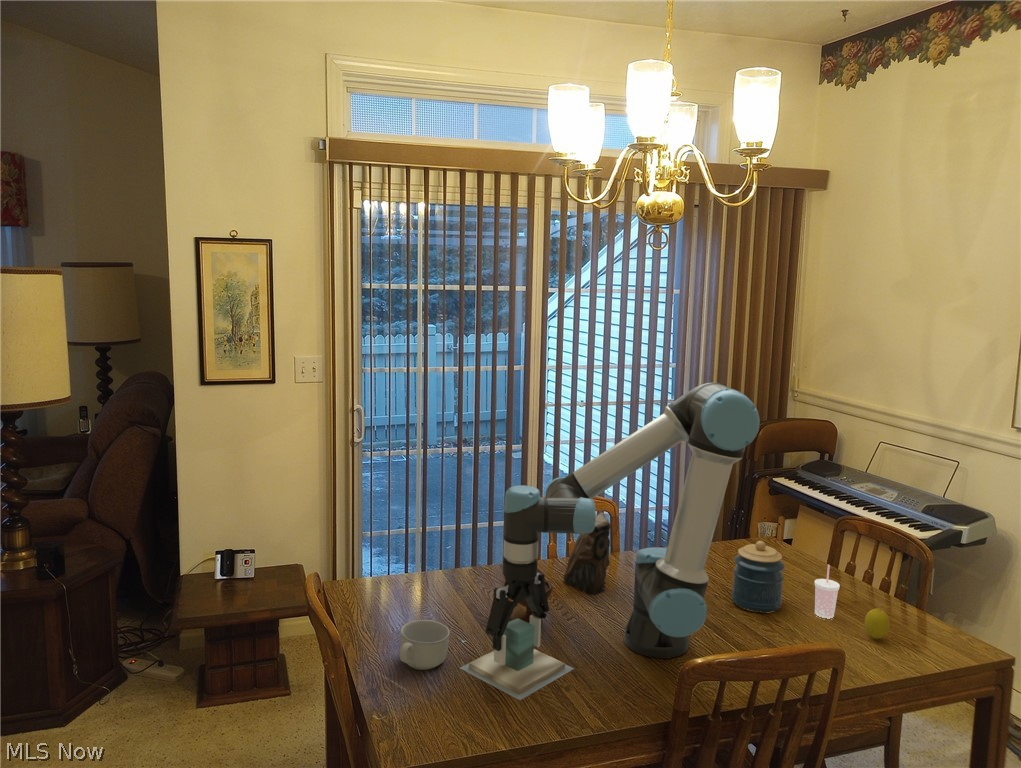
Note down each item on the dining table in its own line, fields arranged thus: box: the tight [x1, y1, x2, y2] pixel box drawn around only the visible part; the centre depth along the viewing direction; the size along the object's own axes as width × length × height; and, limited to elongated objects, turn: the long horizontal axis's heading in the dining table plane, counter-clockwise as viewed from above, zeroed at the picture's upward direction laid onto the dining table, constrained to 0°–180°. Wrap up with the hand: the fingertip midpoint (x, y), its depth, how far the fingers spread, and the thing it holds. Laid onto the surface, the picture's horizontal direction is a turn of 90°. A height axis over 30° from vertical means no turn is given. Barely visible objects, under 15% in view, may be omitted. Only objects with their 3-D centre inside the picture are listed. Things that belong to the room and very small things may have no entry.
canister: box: [731, 540, 786, 612], centre depth 204 cm, size 13×13×18 cm
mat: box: [459, 662, 575, 701], centre depth 168 cm, size 18×18×1 cm
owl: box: [562, 511, 612, 596], centre depth 213 cm, size 13×13×20 cm
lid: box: [469, 617, 566, 695], centre depth 167 cm, size 15×15×10 cm
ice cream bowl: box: [518, 568, 553, 623], centre depth 191 cm, size 11×11×15 cm
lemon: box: [864, 607, 891, 640], centre depth 186 cm, size 6×6×8 cm
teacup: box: [398, 619, 451, 671], centre depth 168 cm, size 14×11×8 cm
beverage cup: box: [814, 564, 841, 619], centre depth 198 cm, size 6×6×14 cm
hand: (517, 653), depth 167 cm, fingers open, 11 cm apart
